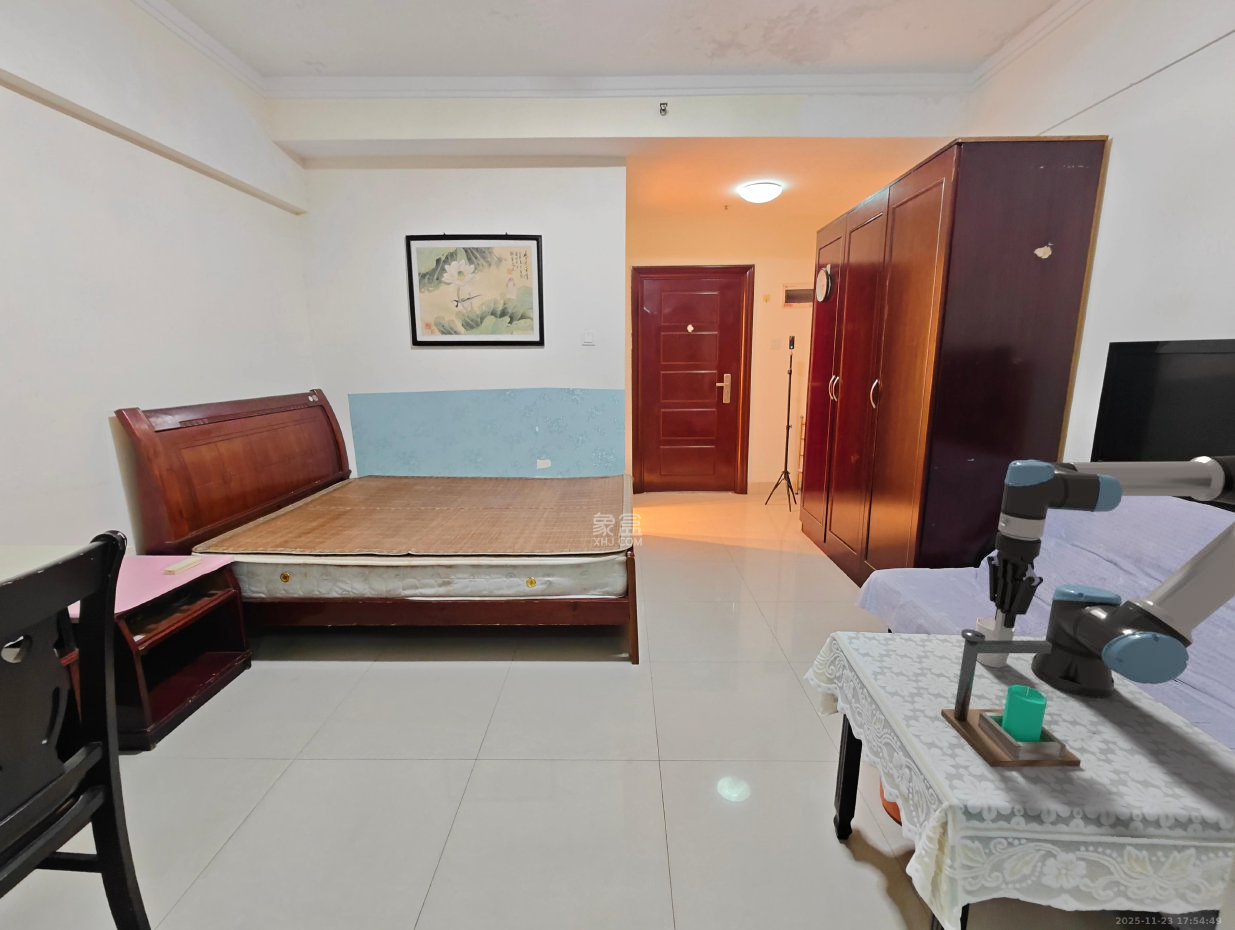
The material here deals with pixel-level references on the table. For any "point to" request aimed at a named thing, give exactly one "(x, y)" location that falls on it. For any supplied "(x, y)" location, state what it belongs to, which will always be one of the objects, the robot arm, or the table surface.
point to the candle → (1024, 713)
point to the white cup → (987, 628)
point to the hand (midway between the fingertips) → (1001, 638)
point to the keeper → (971, 649)
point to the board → (1008, 741)
